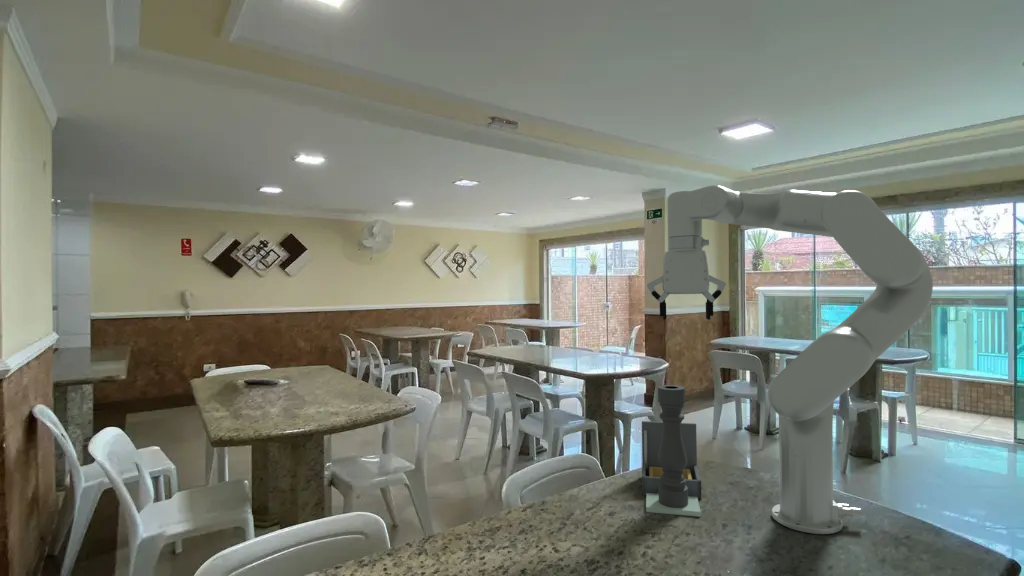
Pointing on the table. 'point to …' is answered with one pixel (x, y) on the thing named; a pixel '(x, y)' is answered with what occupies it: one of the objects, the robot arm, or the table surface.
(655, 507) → the sage pad
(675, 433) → the candle holder
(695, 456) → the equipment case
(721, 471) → the table surface
